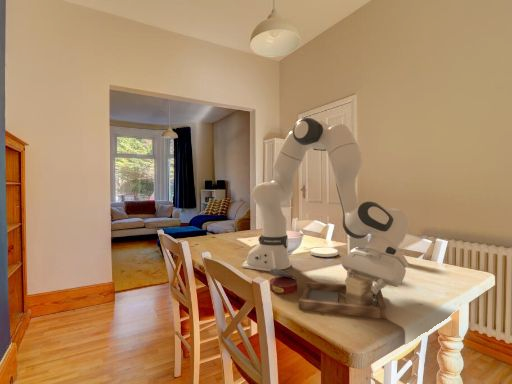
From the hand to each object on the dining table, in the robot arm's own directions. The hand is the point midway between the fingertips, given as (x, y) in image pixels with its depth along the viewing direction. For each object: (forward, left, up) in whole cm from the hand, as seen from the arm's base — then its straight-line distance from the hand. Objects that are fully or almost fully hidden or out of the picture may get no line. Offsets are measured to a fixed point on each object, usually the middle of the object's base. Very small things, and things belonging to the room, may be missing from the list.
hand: (359, 287), depth 86 cm
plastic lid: (-15, +58, -5) cm, 60 cm away
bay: (-6, 0, -5) cm, 7 cm away
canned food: (-26, +6, -5) cm, 27 cm away
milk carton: (0, +33, -5) cm, 33 cm away
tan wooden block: (0, 0, -5) cm, 5 cm away
